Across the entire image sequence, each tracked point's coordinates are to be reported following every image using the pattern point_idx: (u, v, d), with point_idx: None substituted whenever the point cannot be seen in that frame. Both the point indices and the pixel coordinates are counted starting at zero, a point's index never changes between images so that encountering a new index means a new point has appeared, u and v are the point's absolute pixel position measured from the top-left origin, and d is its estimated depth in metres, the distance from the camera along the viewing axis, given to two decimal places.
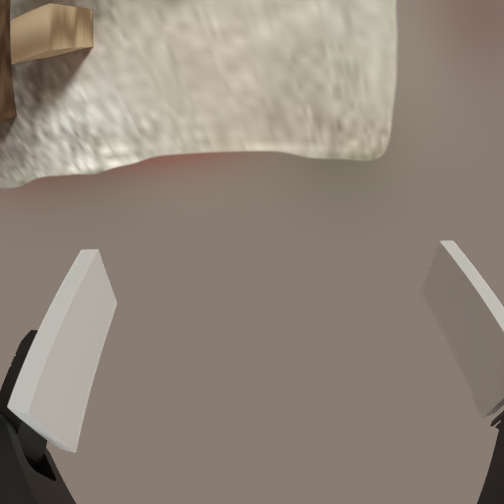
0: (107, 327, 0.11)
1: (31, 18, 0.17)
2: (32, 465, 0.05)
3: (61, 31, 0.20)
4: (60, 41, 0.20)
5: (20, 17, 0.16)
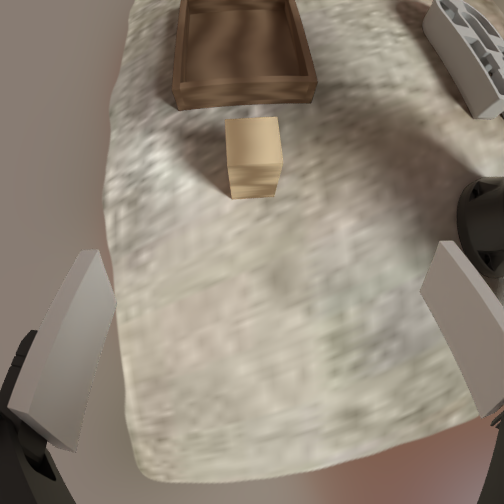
0: (107, 327, 0.11)
1: (270, 142, 0.28)
2: (32, 465, 0.05)
3: (248, 174, 0.30)
4: (237, 174, 0.29)
5: (276, 128, 0.28)
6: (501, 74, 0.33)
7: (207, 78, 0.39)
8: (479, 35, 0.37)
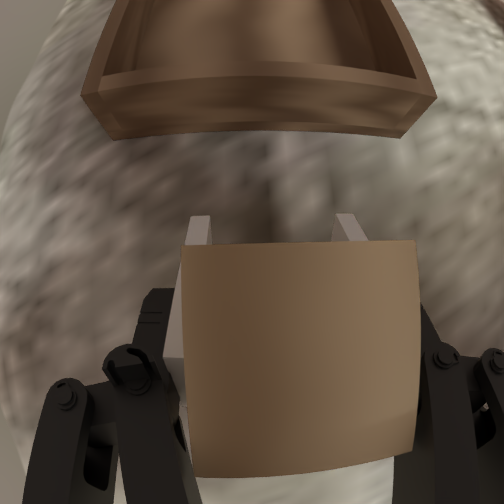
0: None
1: (385, 374, 0.06)
2: None
3: None
4: None
5: (411, 304, 0.06)
6: None
7: None
8: None
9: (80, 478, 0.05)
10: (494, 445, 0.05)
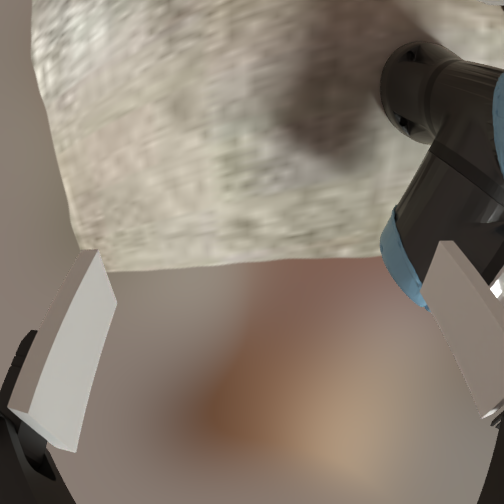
0: (107, 327, 0.11)
1: None
2: (32, 465, 0.05)
3: None
4: None
5: None
6: None
7: None
8: None
9: None
10: None
